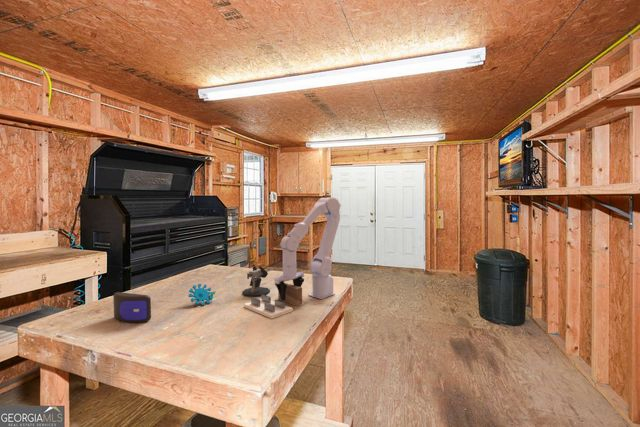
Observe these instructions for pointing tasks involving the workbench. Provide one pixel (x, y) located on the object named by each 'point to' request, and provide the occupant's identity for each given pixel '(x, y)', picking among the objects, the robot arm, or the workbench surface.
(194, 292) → the gear
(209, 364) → the workbench surface
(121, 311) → the purple-faced speaker box
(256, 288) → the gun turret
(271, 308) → the hinge clips
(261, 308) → the cabinet panel
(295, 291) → the brown wooden block
